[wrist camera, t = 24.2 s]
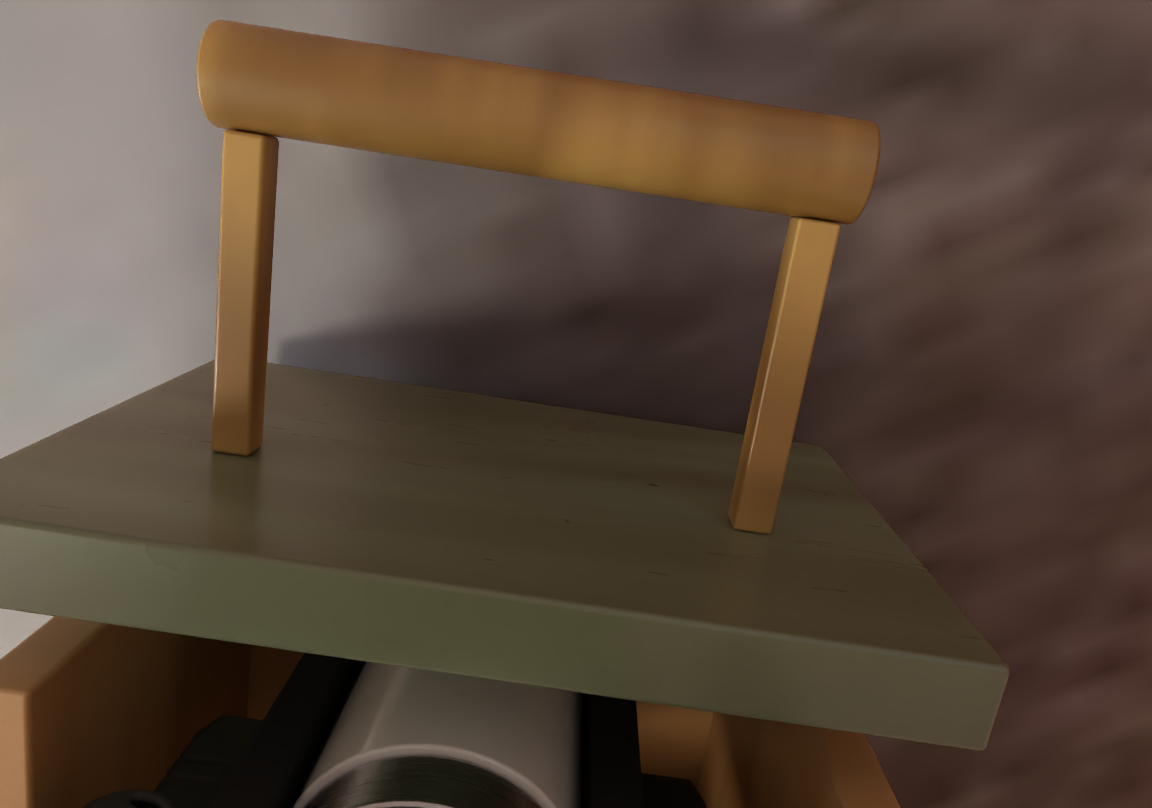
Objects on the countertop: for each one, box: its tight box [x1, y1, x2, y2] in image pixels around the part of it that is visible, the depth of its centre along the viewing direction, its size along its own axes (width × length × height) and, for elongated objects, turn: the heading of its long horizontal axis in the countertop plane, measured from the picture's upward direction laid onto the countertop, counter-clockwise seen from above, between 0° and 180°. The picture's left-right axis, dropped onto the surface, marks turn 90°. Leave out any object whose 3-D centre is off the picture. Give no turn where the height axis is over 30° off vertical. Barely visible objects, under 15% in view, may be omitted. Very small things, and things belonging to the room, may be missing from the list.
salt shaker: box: [292, 661, 586, 808], centre depth 14 cm, size 4×4×7 cm
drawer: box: [0, 20, 1010, 808], centre depth 15 cm, size 18×13×9 cm
